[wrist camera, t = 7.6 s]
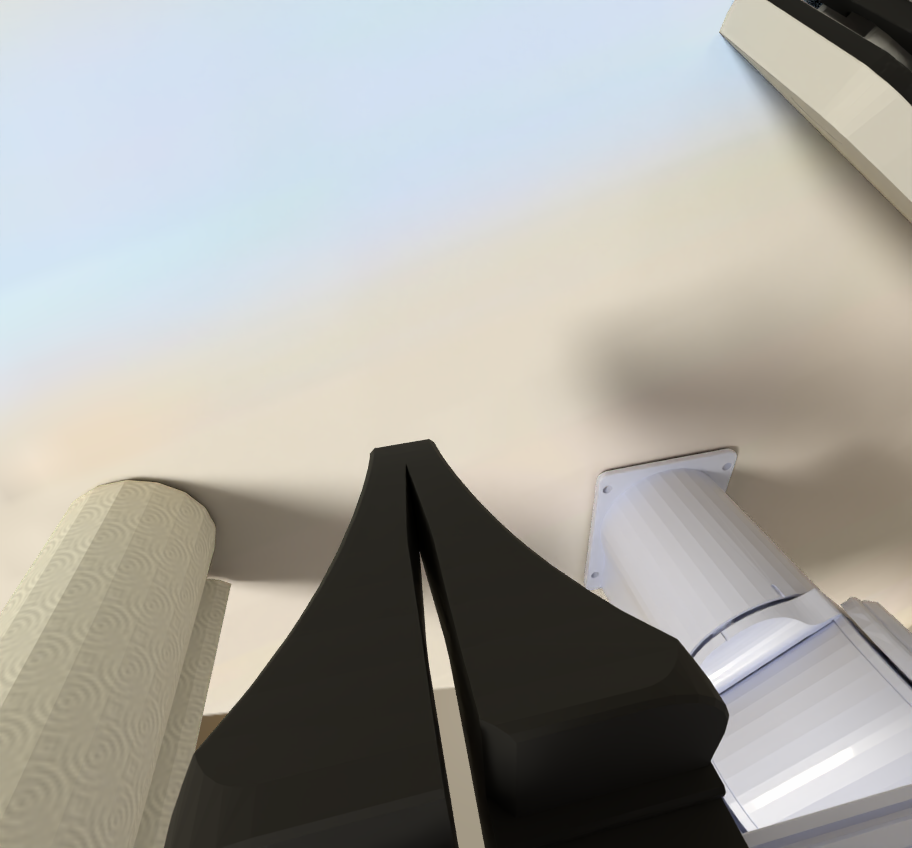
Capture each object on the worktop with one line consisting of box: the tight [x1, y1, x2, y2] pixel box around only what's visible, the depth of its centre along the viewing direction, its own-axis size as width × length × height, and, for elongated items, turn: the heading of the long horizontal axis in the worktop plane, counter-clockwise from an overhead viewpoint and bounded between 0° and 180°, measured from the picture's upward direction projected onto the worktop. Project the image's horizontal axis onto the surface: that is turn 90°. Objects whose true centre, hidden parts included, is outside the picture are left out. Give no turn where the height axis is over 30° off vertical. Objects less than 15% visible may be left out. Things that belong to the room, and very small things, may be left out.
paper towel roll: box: [0, 480, 231, 848], centre depth 14 cm, size 7×6×21 cm
